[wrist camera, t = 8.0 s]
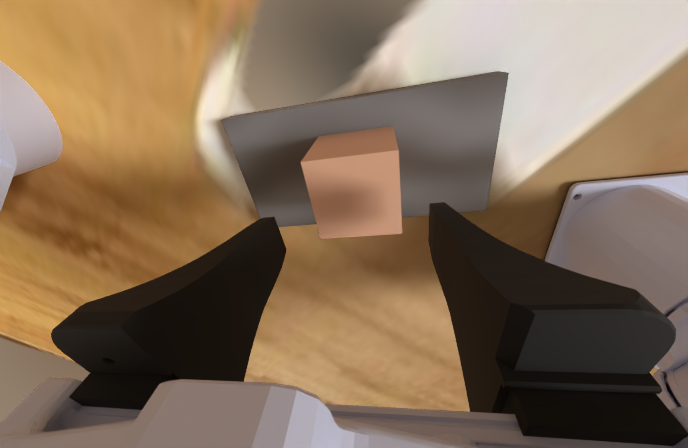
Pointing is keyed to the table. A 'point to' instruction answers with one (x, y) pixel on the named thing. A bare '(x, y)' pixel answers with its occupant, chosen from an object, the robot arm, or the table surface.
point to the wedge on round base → (24, 130)
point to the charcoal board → (369, 113)
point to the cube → (355, 183)
